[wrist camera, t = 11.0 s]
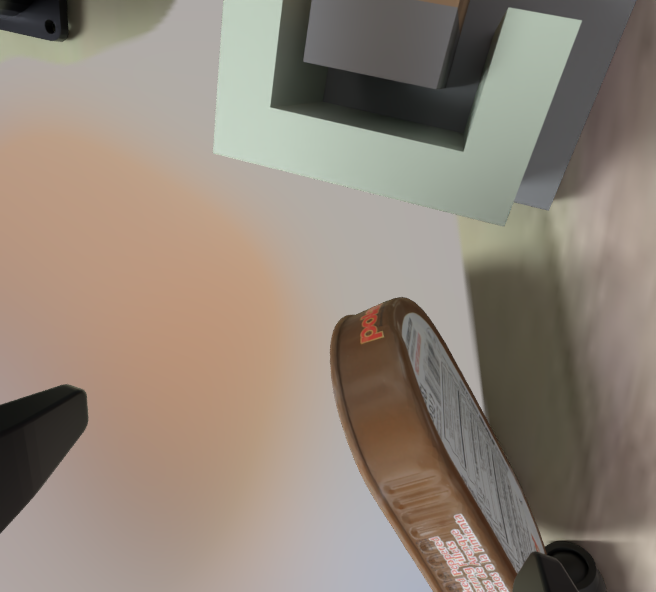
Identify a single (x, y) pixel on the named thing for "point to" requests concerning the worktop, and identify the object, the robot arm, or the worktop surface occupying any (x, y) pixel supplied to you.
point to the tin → (429, 451)
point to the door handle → (577, 566)
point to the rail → (387, 38)
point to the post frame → (421, 105)
